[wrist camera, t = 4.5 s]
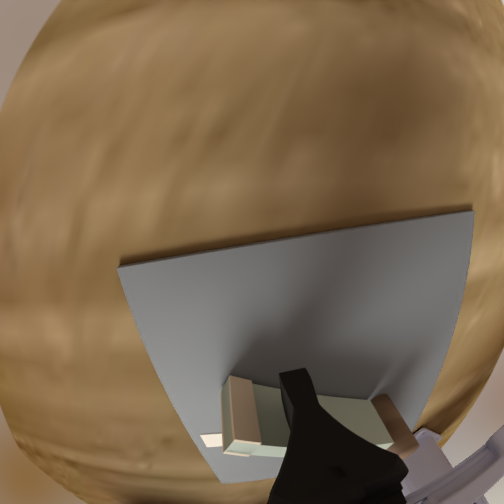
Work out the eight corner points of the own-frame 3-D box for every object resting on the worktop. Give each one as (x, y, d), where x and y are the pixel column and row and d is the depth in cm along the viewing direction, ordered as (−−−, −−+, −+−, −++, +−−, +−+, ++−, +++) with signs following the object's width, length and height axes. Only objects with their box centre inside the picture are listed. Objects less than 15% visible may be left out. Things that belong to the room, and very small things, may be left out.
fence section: (369, 448, 18) (388, 486, 13) (350, 455, 18) (367, 495, 13) (391, 390, 15) (423, 440, 10) (366, 399, 15) (396, 453, 10)
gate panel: (371, 398, 15) (396, 440, 11) (359, 411, 15) (381, 453, 11) (229, 375, 13) (234, 439, 9) (220, 391, 13) (222, 453, 9)
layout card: (409, 431, 19) (411, 433, 19) (222, 481, 18) (222, 484, 18) (471, 209, 12) (475, 211, 11) (118, 265, 11) (116, 268, 10)
